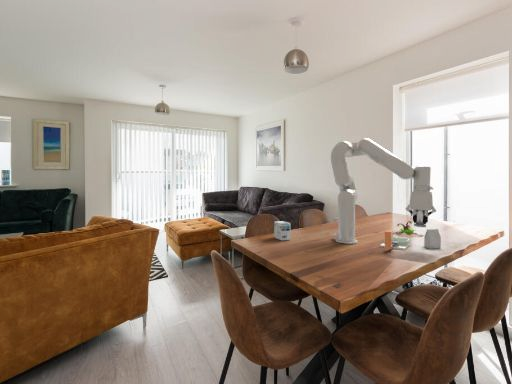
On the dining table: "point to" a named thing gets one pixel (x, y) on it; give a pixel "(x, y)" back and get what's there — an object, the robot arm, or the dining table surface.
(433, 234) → the grey white box
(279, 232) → the light bulb box
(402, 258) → the dining table surface
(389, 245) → the pin
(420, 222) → the grey rounded piece
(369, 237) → the dining table surface
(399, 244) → the dock
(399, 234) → the plant
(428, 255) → the dining table surface
